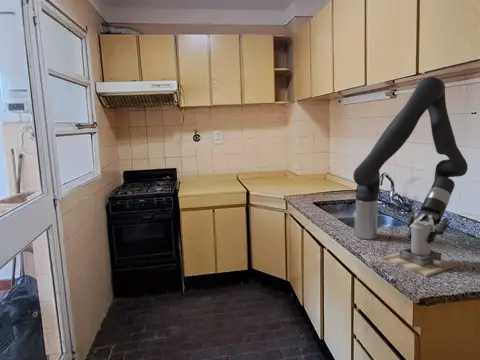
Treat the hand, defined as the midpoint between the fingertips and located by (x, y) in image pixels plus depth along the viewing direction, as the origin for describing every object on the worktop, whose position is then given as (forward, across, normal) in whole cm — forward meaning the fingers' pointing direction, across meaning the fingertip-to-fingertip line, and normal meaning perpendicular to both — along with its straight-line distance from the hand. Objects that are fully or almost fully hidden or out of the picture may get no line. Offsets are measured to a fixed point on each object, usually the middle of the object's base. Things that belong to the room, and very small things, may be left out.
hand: (418, 240), depth 126 cm
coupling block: (+6, 0, +7) cm, 9 cm away
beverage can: (+3, 0, +6) cm, 6 cm away
